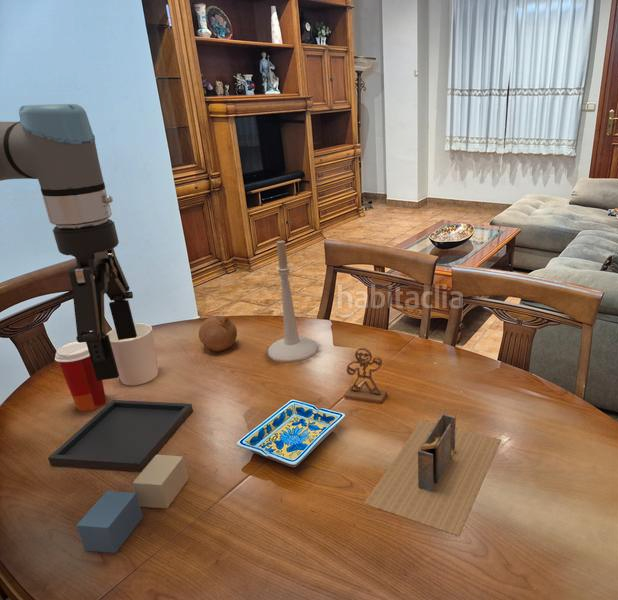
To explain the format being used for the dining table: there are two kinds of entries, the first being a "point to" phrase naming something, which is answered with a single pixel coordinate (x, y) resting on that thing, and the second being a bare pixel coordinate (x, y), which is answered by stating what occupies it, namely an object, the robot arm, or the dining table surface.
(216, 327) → the onion
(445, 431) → the architectural model on board
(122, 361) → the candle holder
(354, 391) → the gingerbread man figurine
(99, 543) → the blue block
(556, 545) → the dining table surface
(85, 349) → the paper cup
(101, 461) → the tray
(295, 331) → the candlestick
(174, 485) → the cream block
